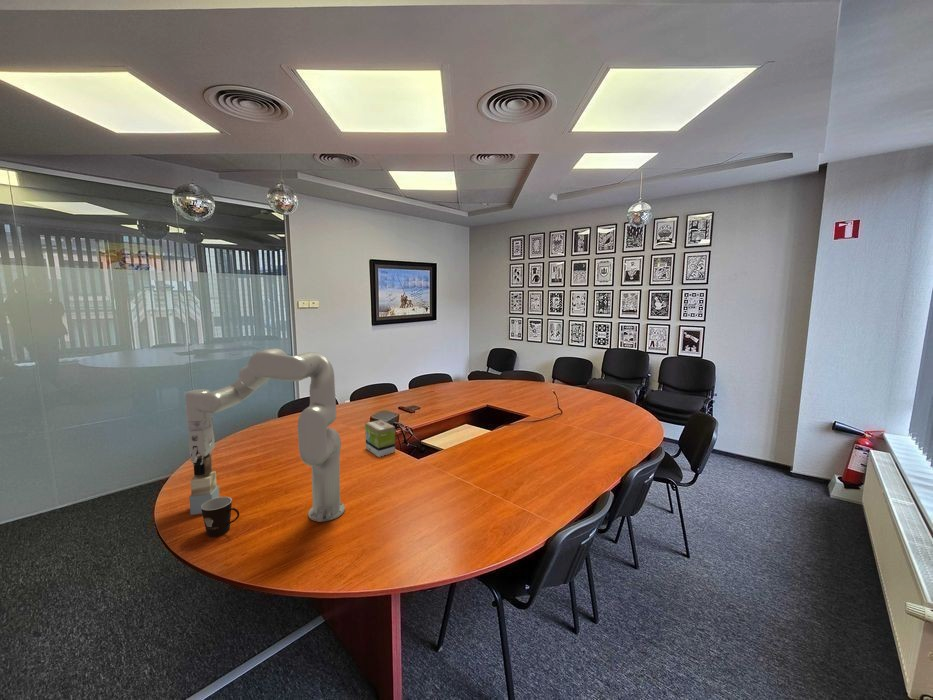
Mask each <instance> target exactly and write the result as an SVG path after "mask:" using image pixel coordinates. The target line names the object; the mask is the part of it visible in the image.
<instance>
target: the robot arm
mask: <svg viewBox="0 0 933 700" xmlns="http://www.w3.org/2000/svg"><path fill="white" fill-rule="evenodd" d="M309 377H310V384H309V392H308V393H309V406H307V407H306V408H304V409H303V410H302V411H301V412H300V414H299V416H298V420H297V439H298V453H299V457H300V459H301V460H302V462H303V463H304V464H305V465H307V466H309V467H311V488H312V489H311V490H312V493H311V494H312V495H311V496H312V507H310V509H309V510H308V513H307V515H308V518H309V519H310V520H311V521H314V522H318V523H321V522H322V523H323V522H329V521H333V520H336V519H337V518H339V517H340V516H342V515H343V514H344V512H345V507H346V506H345V504H344V503H343V502H341V487H340V486H341V484H340V483H341V481H340V480H341V479H340V476H341V475H340V473H341V471H340V469H341V467H340V458H341V456H340V455H341V447H342V441H341V440H342V438H341V436H340V434H339V432H338V430H335V428H332V427H331V428H330V427H329V426H330V425H332V424H333V423H334V422H335V420H336V418H337V401H336V400H337V399H336V387H335V386H336V384H335V382H336V381H335V370H334V367H333V365H332V363H331V362H330V360H329V359H328V358H327V357H325V356H324V355H322V354H320V353H318V352H311V351H309V352H302V353H300V354H296V355H288V354H287V353H286V352H285V351H284V350H282V349H280V348H276V347H275V348H268V349H263V350H259V351H256V352H255V353H253V354H252V355H251V356H250V358H249V359H248V364H246V365H245V366H243V367H242V368H241V369H240V370H239V372H238V379H236V380H235V381H234V382H232V383H231V384H230V385H227V386H226V387H223V388H219V389H216V390H213V391H210V390H209V389H206V388H204V389H203V388H201V389H199V388H198V389H197V388H196V389H193V390H189V391H186V393H185V396H184V399H185V412H186V427H187V431H188V450H189V457H190V461H191V462H192V465H193V471H194V472H193V475H194V476H195V475H204V474H205V464H203V458H204V457H205V456H206V455H211V456H212V452H213V450H214V449H215V447H216V441H215V432H214V429H213V428H214V427H213V426H214V424H213V422H214V421H213V414H216V413H220V412H222V411H225V410H226V409H229V408H232V407H234V406H237V405H238V404H240V403H241V402H243V401H244V400H245V399H247V398H248V397H250V396H251V395H252V394H254V393H255V391H257V390H258V388H259V387H260V386H262V385H264V384H265V383H266V382H268V381H269V380H271V379H272V380H273V379H274V380H281V381H286V382H287V381H288V382H298V381H302V380H304V379H308V378H309ZM200 455H201V456H200ZM197 458H200V460H199V459H197ZM212 465H213V464H212V461H211V466H212Z"/></svg>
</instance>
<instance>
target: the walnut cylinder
mask: <svg viewBox="0 0 933 700" xmlns="http://www.w3.org/2000/svg"><path fill="white" fill-rule="evenodd" d="M199 456H201V455H200V454H199ZM197 459H199V460H200V458H197ZM211 462H212V454H211V455H206V456H205V457H204V458H203V464H205V474H204V475H207V474H209V473H211V472H213V471H212V470H213V469H212V466H211ZM194 476H203V475H194Z"/></svg>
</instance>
